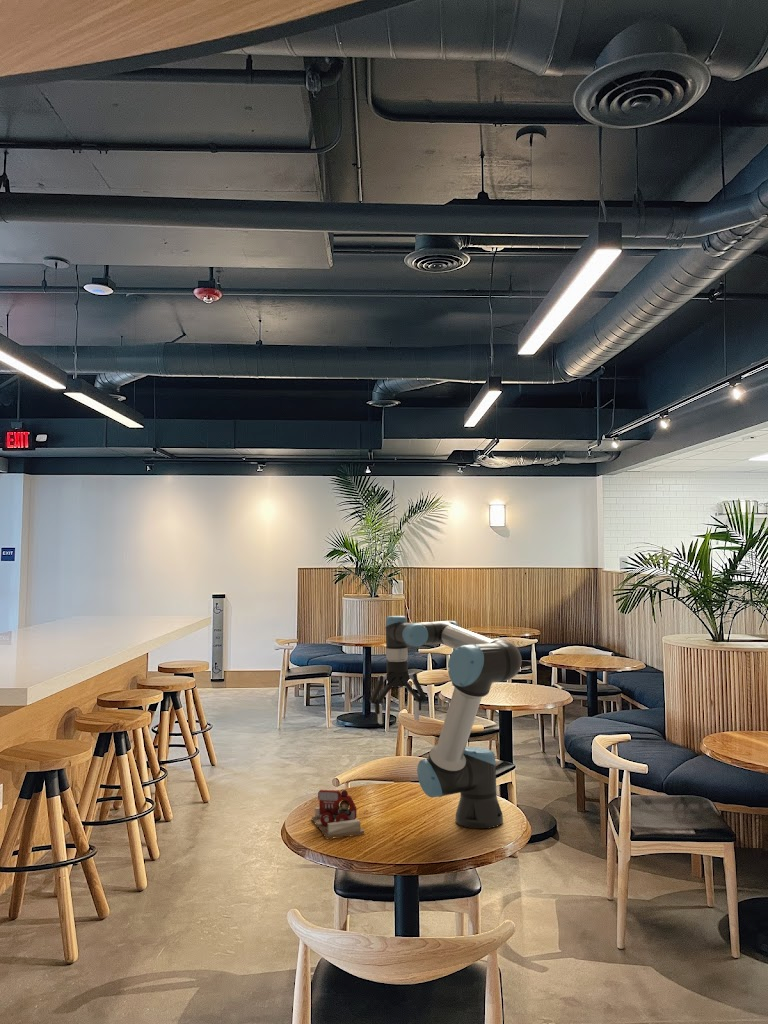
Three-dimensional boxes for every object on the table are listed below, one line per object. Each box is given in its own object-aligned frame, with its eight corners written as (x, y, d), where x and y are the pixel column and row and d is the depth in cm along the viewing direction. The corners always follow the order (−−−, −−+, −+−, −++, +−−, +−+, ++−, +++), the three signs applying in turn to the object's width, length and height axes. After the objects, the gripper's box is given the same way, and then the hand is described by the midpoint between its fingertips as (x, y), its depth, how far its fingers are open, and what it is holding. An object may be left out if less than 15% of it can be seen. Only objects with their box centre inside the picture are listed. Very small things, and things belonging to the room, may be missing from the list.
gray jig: (364, 834, 238) (363, 821, 238) (326, 839, 234) (326, 826, 234) (346, 815, 256) (346, 802, 257) (311, 819, 253) (311, 807, 253)
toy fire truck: (353, 827, 241) (353, 794, 241) (315, 826, 243) (315, 792, 244) (358, 820, 248) (357, 787, 248) (321, 819, 250) (320, 786, 250)
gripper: (426, 657, 276) (427, 716, 274) (360, 661, 268) (361, 722, 266) (434, 659, 269) (435, 720, 267) (366, 663, 261) (367, 726, 259)
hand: (398, 721), depth 267 cm, fingers open, 13 cm apart
